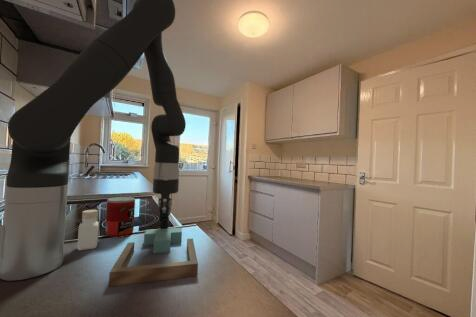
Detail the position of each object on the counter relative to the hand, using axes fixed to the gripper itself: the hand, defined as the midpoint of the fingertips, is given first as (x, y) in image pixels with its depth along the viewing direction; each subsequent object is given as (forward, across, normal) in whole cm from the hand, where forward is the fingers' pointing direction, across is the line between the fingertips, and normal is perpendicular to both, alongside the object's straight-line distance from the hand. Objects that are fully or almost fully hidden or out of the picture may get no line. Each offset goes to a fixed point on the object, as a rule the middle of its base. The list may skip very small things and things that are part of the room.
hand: (163, 233), depth 63 cm
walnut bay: (+1, +17, 0) cm, 17 cm away
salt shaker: (+1, +4, -19) cm, 19 cm away
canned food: (+1, -6, -13) cm, 15 cm away
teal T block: (+1, +7, 0) cm, 7 cm away
